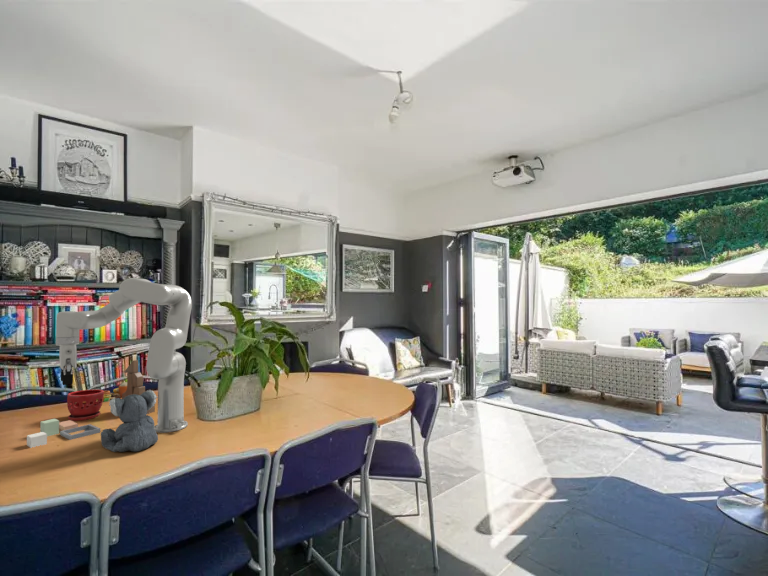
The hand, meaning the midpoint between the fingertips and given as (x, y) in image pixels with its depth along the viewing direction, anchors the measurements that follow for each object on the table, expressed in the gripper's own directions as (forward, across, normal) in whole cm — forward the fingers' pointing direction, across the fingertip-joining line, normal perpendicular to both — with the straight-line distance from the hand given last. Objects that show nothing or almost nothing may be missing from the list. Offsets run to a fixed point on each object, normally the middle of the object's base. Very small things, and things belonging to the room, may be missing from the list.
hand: (66, 382), depth 159 cm
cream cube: (+20, -16, +9) cm, 27 cm away
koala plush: (+19, -41, -17) cm, 48 cm away
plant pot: (+20, +14, -8) cm, 25 cm away
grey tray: (+19, -12, -4) cm, 23 cm away
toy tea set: (+20, +46, -21) cm, 55 cm away
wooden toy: (+20, +8, -27) cm, 34 cm away
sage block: (+20, -5, +5) cm, 21 cm away
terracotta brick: (+20, 0, 0) cm, 20 cm away
